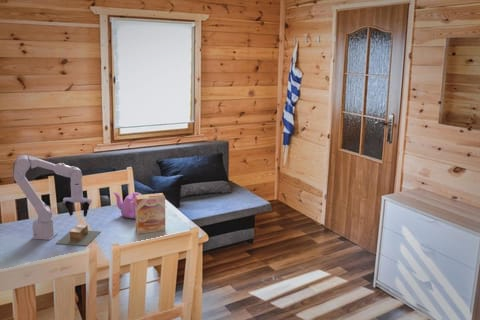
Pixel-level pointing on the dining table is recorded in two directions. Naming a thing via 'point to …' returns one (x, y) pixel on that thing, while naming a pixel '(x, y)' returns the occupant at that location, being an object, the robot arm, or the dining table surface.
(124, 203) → the teapot
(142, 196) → the coffeecake box
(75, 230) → the card box
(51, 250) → the dining table surface
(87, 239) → the mat
